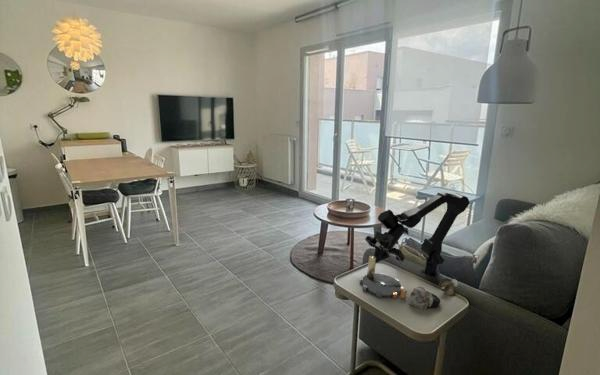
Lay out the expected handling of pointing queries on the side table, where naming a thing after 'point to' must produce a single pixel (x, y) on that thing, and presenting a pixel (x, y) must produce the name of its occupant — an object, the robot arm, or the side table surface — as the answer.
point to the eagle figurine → (448, 286)
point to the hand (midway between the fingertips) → (372, 263)
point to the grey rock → (423, 298)
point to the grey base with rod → (380, 282)
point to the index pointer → (403, 293)
